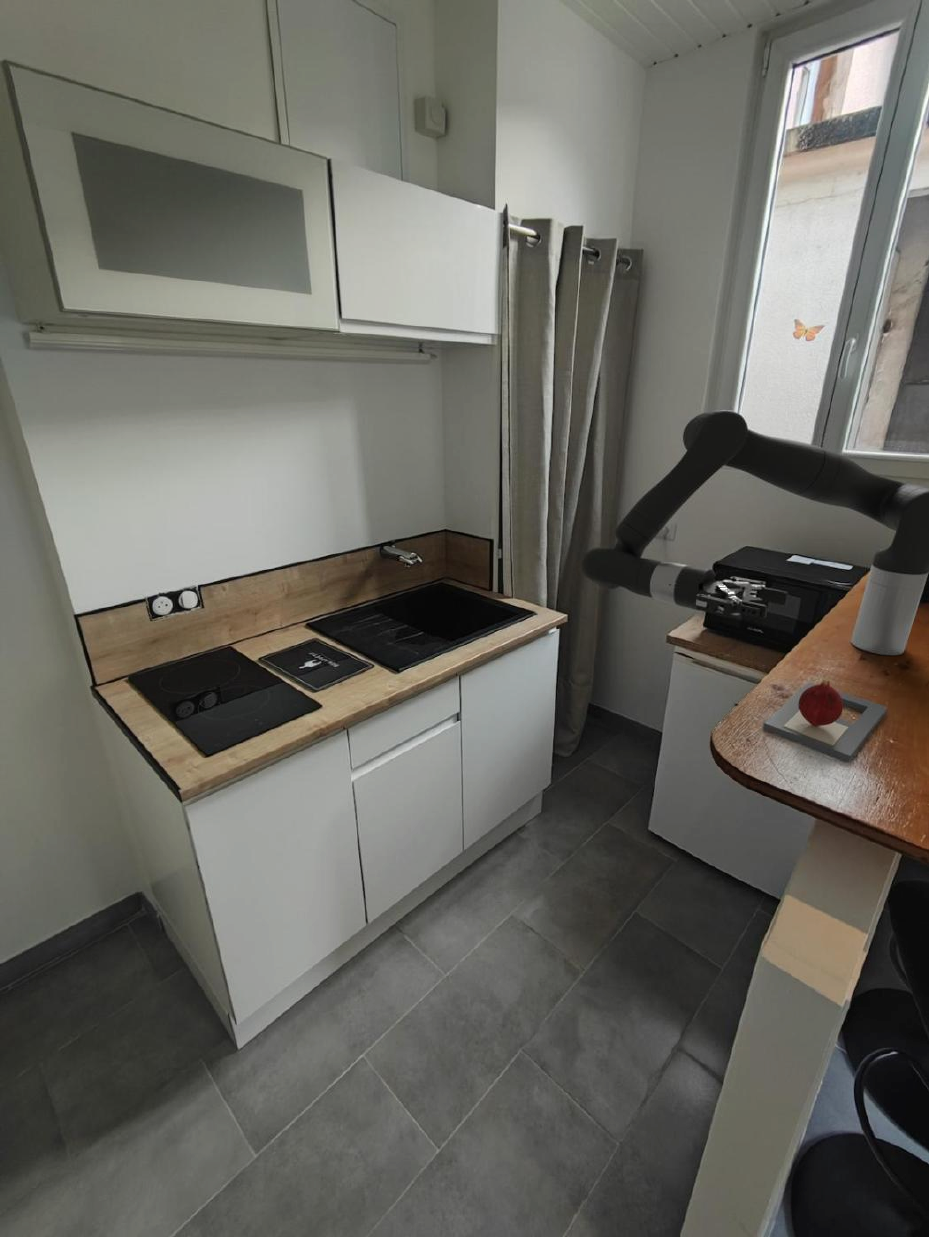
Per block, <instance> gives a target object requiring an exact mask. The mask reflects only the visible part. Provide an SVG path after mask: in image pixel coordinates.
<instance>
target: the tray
mask: <svg viewBox="0 0 929 1237" xmlns="http://www.w3.org/2000/svg"><path fill="white" fill-rule="evenodd" d="M815 685H818V684H817V683H813V682H811V681H810V682H807V683H806V685H804V686H803V687H801V689H799V691H797V692H796V693H795V694H794V695H793V696H792V697H791V698H790V699H788V701H787V702H785V703H784V704H782V706H781V707H780V708H779V709H778V710H777V711H775V712H774V713H773V714H772V715H771V716H770V717H769V718H768V719H767V720H766V721H765V722H764V723H763V726H762V730H764V731H766V732H769V733H771V734H774V735H775V736H778V737H781V738H784V739H786V740H790V741H791V742H794V743H796V744H799V745H801V746H804V747H807V748H810V749H813V750H815V751H817V752H819V753H822V754H825V755H826V756H827V755H828V756H830V757H831V758H832V757H833V758H835V759H837V760H841V761H843V762H845V763H848V764H849V763H850V761H851V760H852V759H853V757H854V756H855V755H856V753H857V752H858V751H859V750H860V748H861V747H862V745H863V744H864V743H865V742H866V741H867V739H868V738H869V736H870V735H871V734H872V732H873V731H874V730H875V728H876V727H877V726H878V725H879V723H880V722H881V720H882V719H883V718H884V717H885V715H886V713H887V712H888V708H889V706H885V705H882V704H878V703H876V702H872V701H870V700H866V699H863V698H860V697H857V696H854V695H851V694H848V693H845V692H841V691H838V690H836V691H837V692H838V693H839V695H840V696H841V698H842V701H843V707H848V708H850V709H852V710H856V711H858V712H862V713H861V715H860V716H859V717H858V718H857V720H856V721H855V722H851V721H849V720H845V719H843V718H840V717H839V718H838V719H837V720H836V721H834V722H833V723H831V724H828V725H823V726H817V727H816V726H813V725H811V724H810V723H809V722H808V721H807V720H806V719H805V718H804V717H803V716H802V714H801V712H800V710H799V699H800V696H801V694H802V693H803V692H804V691H805V690H806V689H808V688H810V687H812V686H815Z"/></svg>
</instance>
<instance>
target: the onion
mask: <svg viewBox="0 0 929 1237" xmlns="http://www.w3.org/2000/svg"><path fill="white" fill-rule="evenodd" d="M837 691H838V690H836V689H835V688H834V687H833V686H831V681H830V680H828V679H827V678H826V679H823V680H822V681H821V683H819V684H817V685H815V686H812V687H810V688H808V689H806V690H805V691H804V692H803V693H802V694H801V696H800V699H799V710H800V712H801V714H802V716H803V717H804V718H805V719H806V720H807V721H808V722H809V723H810V724H811V725H813V726H816V727H817V726H823V725H828V724H831V723H833V722H834V721H836V720H837V719H838V718H840V717H841V716H842V713H843V710H844V706H843V701H842V698H841V696H840V695H839V693H838V692H837Z"/></svg>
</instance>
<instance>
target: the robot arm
mask: <svg viewBox="0 0 929 1237" xmlns="http://www.w3.org/2000/svg"><path fill="white" fill-rule="evenodd" d="M682 441H683V445H684V448H685V449H686V452H685V453H684V454H683V455H682V457H681V459H680V460H679V461H678V462H677V463H676V464H675V466H674V467H673V468H672V469H671V470H670V472H668V473H667V474H666V475H665V476H664V477H663V478H662V479H661V480H660V481H659V482H658V483H657V484H655V485H654V486H653V487H652V488H651V489H650V490H648V492H646V493H645V494H644V495H643V496H642V497H641V498H640V499H639V500H638V501H637V502H636V503H635V504H634V505H633V506H632V508H631V510H630V511H629V512H627V514H626V515H625V516H624V517H623V519H622V520H621V521H620V522H619V524H618V525H617V526H616V529H615V531H614V535H615V538H616V539H617V540H616V544H615V545H614V547H613V548H610V547H606V546H598V547H594V548H591V549H589V550H588V551H586V553H585V554H584V555H583V557H582V559H581V565H580V566H581V569H582V572H583V575H584V576H585V577H586V578H587V579H588V580H590V581H591V582H593V583H594V584H596V585H598V586H600V587H601V588H603V589H605V590H615V589H617V588H620V587H621V588H624V589H625V590H627V591H629V592H630V593H634V594H636V595H639V596H643V597H647V598H652V599H656V600H658V601H661V602H664V603H666V604H671V605H675V606H678V607H682V608H688V609H691V610H694V611H701V612H705V613H708V614H713V615H716V616H719V617H723V618H731V617H732V615H733V616H740V615H743V616H746V617H751V618H755V619H759V620H763V619H765V618H767V614H768V606H767V605H766V604H763V603H757V602H754V601H762V602H766V603H773V604H777V605H781V606H784V605H786V604H787V603H788V598H789V592H788V591H785V590H780V589H775V588H771V587H766V584H767V583H766V581H761V580H756V579H749V578H744V577H740V576H739V577H738V576H735V575H734V576H730V577H729V579H723V580H718V578H717V575H716V573H715V571H714V570H713V569H711V568H706V567H701V566H696V565H689V564H687V563H686V564H683V563H681V562H680V563H679V562H672V561H671V562H670V561H669V562H668V561H662V560H661V561H660V560H657V559H656V560H655V559H651V558H645V557H644V558H643V557H642V556H643V554H644V552H645V549H646V548H647V547H648V546H649V544H650V543H652V541H653V540H654V539H655V538H656V537H657V536H658V534H659V533H660V531H662V530H663V528H664V527H665V526H666V524H668V522H670V520H671V518H673V517H674V515H675V514H676V513H677V512H678V511H679V509H680V508H682V506H683V505H684V504H686V502H687V501H688V500H689V499H690V498H691V497H692V495H694V494H695V493H696V492H697V491H698V490H699V489H700V488H701V487H702V486H703V485H704V484H705V483H706V482H707V481H708V480H709V479H710V478H712V476H714V475H715V474H716V473H717V472H718V471H719V470H720V469H721V468H723V467H729V468H734V469H737V470H739V471H742V472H745V473H747V474H750V475H752V476H753V477H756V478H758V479H759V480H762V481H764V482H766V483H768V484H770V485H773V486H774V487H776V488H779V489H782V490H784V491H786V492H789V493H791V494H794V495H797V496H799V497H801V498H805V499H807V500H810V501H814V502H817V503H820V504H824V505H828V506H835V507H841V508H846V509H850V510H853V511H855V512H858V513H860V514H862V515H863V516H866V517H868V518H870V519H871V520H873V521H876V522H878V523H879V524H882V525H883V526H885V527H886V528H889V529H891V530H892V531H895V533H894V536H893V540H892V542H891V545H889V547H887V548H881V549H878V550H877V551H876V552H875V554H874V556H873V559H872V563H871V566H870V571H869V574H868V578H867V583H866V586H865V588H864V593H863V596H862V600H861V604H860V607H859V611H858V615H857V619H856V622H855V625H854V629H853V633H852V637H851V640H850V643H851V644H852V645H853V646H854V647H856V648H858V649H860V650H863V651H864V652H865V651H866V652H869V653H871V654H872V653H873V654H875V655H876V654H877V655H883V656H899V655H903V653H905V649H906V646H907V643H908V639H909V636H910V634H911V630H912V627H913V624H914V620H915V617H916V614H917V611H918V607H919V606H920V605H919V604H920V603H921V602H920V601H921V598H922V594H923V591H924V589H925V586H926V582H927V578H928V575H929V486H925V485H922V484H918V483H917V484H915V483H912V482H911V483H910V482H903V481H899V480H894V479H890V478H887V477H884V476H880V475H877V474H874V473H872V472H870V471H868V470H866V469H864V468H863V467H862V466H860V465H859V464H858V463H856V462H855V461H853V460H852V459H850V458H848V457H846V456H844V455H842V454H840V453H837V452H834V451H833V450H832V451H831V450H828V449H826V448H824V447H821V446H818V445H814V444H811V443H807V442H803V441H799V440H795V439H789V438H781V437H777V436H770V435H765V434H763V433H759V432H756V431H754V430H752V429H749V427H748V424H747V421H746V420H745V418H744V417H743V415H742V414H740V413H739V412H737V411H734V410H730V409H718V410H717V409H716V410H708V411H705V412H702V413H700V414H697V415H696V416H695V417H694V418H692V419H691V420H690V421H689V422H688V423H687V424H686V426H685V427H684V430H683V434H682Z"/></svg>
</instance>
